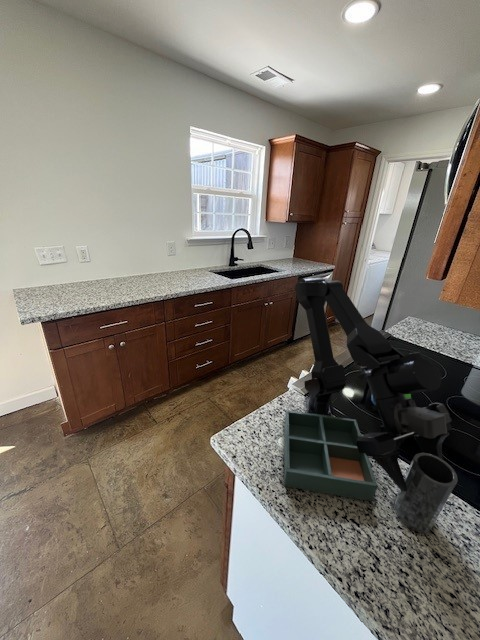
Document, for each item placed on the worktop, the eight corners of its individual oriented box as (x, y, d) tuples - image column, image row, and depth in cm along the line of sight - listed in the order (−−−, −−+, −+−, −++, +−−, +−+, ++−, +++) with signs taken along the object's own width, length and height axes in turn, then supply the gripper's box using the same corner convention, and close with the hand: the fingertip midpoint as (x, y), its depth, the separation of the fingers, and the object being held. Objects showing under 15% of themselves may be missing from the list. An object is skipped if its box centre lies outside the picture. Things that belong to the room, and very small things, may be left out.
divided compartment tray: (284, 423, 72) (286, 410, 70) (352, 432, 69) (356, 419, 68) (284, 486, 56) (286, 471, 54) (372, 501, 53) (377, 486, 52)
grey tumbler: (389, 494, 55) (407, 450, 50) (422, 500, 54) (444, 455, 49) (401, 529, 49) (423, 482, 44) (439, 536, 48) (466, 489, 43)
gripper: (383, 403, 43) (425, 512, 38) (459, 381, 50) (504, 474, 44) (342, 408, 53) (371, 496, 48) (409, 390, 59) (442, 466, 54)
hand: (423, 483), depth 49 cm, fingers open, 9 cm apart
